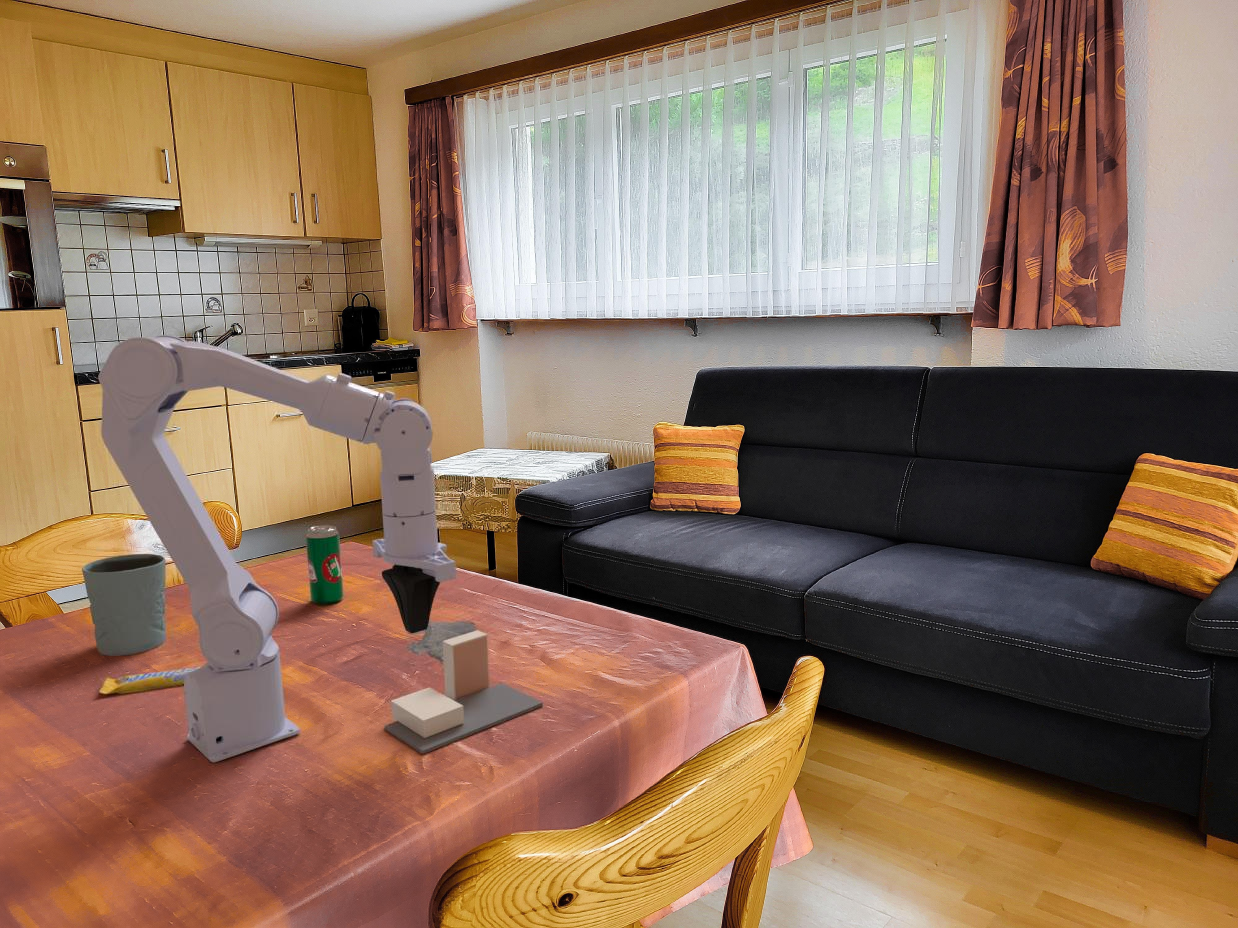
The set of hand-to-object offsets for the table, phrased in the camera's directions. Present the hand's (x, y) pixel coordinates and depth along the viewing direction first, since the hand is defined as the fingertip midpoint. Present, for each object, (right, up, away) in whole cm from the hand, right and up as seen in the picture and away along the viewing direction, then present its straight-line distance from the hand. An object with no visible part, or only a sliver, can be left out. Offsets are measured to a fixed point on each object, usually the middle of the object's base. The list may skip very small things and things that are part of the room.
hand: (416, 629), depth 99 cm
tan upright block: (+4, -9, +8) cm, 13 cm away
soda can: (-24, -4, +44) cm, 50 cm away
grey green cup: (-46, -7, +26) cm, 54 cm away
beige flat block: (-1, -9, +2) cm, 9 cm away
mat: (+5, -10, +2) cm, 12 cm away
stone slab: (-2, -7, +25) cm, 26 cm away
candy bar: (-33, -10, +13) cm, 37 cm away
